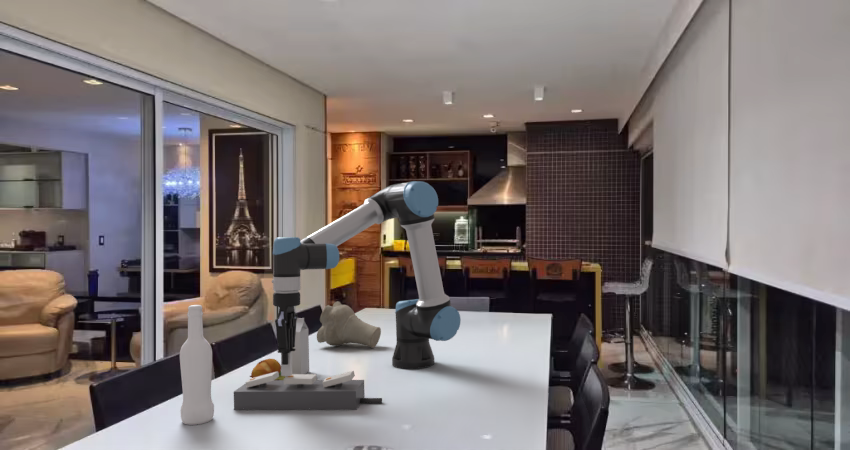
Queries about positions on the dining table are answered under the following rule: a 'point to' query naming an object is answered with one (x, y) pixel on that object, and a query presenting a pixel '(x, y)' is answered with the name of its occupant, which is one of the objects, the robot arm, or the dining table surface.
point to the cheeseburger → (267, 368)
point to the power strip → (302, 396)
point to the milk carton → (301, 349)
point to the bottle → (196, 372)
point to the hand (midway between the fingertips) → (286, 375)
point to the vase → (345, 327)
